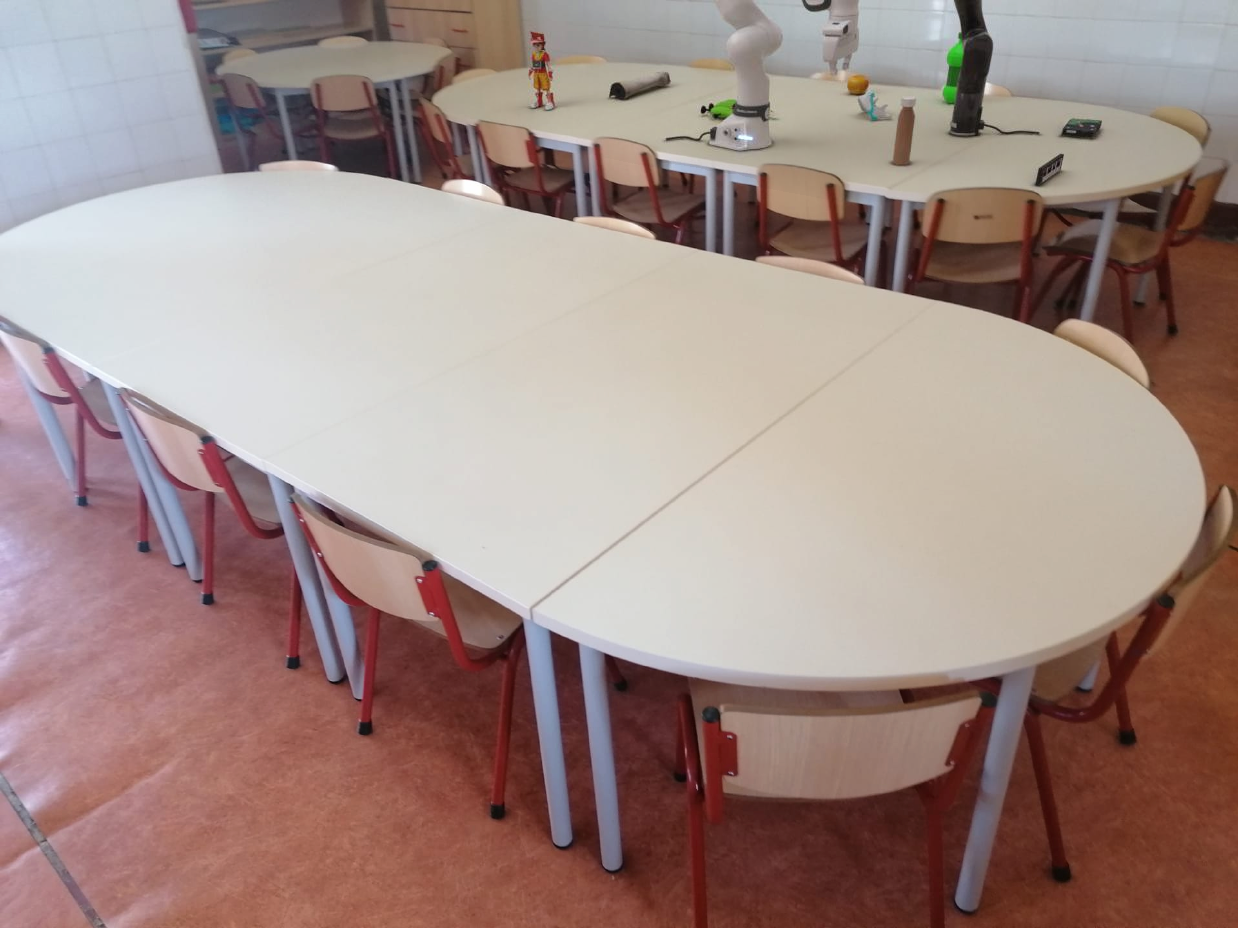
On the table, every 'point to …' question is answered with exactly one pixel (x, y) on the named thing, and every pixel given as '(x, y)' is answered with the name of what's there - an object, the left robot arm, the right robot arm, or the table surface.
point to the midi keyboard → (1049, 169)
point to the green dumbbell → (953, 70)
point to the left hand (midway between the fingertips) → (839, 72)
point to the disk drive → (1081, 128)
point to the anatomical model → (872, 106)
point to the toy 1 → (541, 71)
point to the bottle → (904, 136)
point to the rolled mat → (638, 84)
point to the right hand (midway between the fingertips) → (841, 46)
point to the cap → (908, 101)
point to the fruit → (857, 84)
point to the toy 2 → (721, 109)
